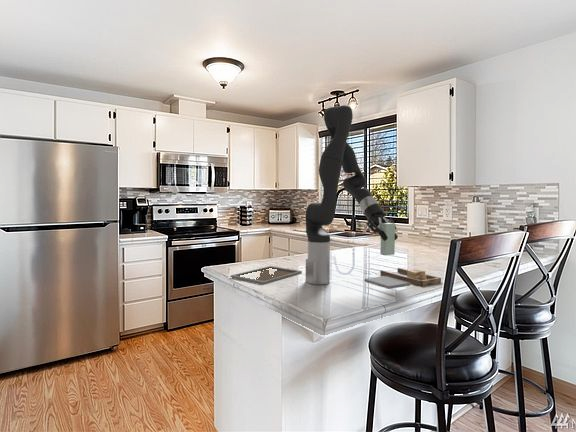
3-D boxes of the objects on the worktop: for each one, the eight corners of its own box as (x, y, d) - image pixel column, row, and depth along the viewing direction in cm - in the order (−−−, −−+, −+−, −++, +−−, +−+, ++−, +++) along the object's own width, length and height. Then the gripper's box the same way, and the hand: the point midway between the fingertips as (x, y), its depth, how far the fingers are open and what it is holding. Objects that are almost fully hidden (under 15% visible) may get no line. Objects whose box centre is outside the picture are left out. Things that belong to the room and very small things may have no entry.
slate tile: (388, 288, 140) (388, 286, 140) (364, 280, 152) (364, 278, 152) (410, 284, 145) (410, 282, 145) (385, 277, 158) (385, 275, 158)
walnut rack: (421, 286, 143) (421, 281, 143) (380, 274, 163) (380, 270, 163) (440, 282, 149) (441, 278, 149) (398, 272, 169) (399, 268, 169)
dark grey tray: (230, 275, 155) (273, 264, 179) (230, 279, 155) (273, 268, 179) (263, 282, 144) (305, 270, 167) (263, 286, 144) (305, 273, 168)
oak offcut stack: (415, 283, 148) (415, 272, 148) (406, 280, 153) (406, 270, 152) (426, 281, 152) (427, 271, 152) (417, 279, 156) (417, 268, 156)
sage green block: (385, 255, 145) (386, 223, 145) (380, 254, 148) (381, 223, 147) (394, 254, 148) (395, 223, 147) (389, 253, 150) (389, 222, 150)
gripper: (363, 203, 150) (383, 234, 140) (387, 202, 157) (408, 232, 147) (354, 214, 154) (373, 246, 145) (379, 214, 162) (398, 243, 152)
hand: (391, 239), depth 146 cm, fingers closed on sage green block, 5 cm apart
